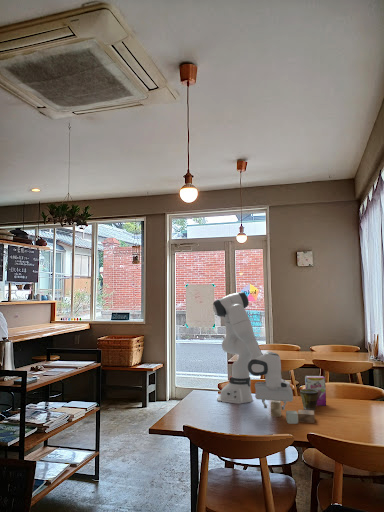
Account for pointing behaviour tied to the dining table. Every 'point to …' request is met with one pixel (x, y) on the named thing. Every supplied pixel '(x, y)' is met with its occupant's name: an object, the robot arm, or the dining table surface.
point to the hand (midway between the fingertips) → (274, 408)
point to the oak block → (276, 408)
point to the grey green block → (292, 417)
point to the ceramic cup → (309, 398)
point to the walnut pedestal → (306, 416)
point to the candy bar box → (317, 388)
